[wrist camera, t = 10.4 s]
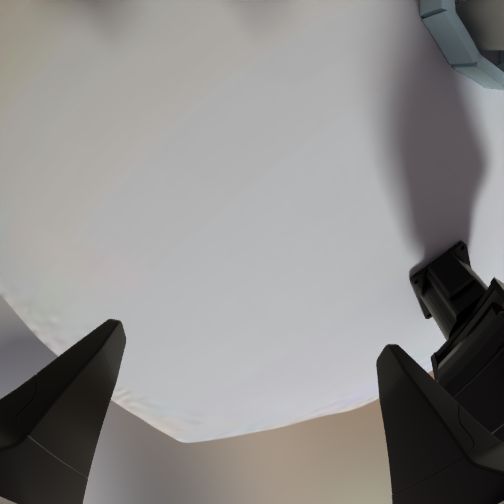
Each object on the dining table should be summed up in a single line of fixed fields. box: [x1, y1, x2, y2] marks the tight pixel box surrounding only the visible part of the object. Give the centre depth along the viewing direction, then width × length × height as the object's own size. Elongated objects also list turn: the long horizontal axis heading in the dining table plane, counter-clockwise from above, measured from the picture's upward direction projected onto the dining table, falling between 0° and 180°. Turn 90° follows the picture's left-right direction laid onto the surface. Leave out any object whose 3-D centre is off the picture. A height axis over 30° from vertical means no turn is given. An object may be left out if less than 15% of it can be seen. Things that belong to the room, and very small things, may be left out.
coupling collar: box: [420, 0, 504, 90], centre depth 9 cm, size 10×10×3 cm
